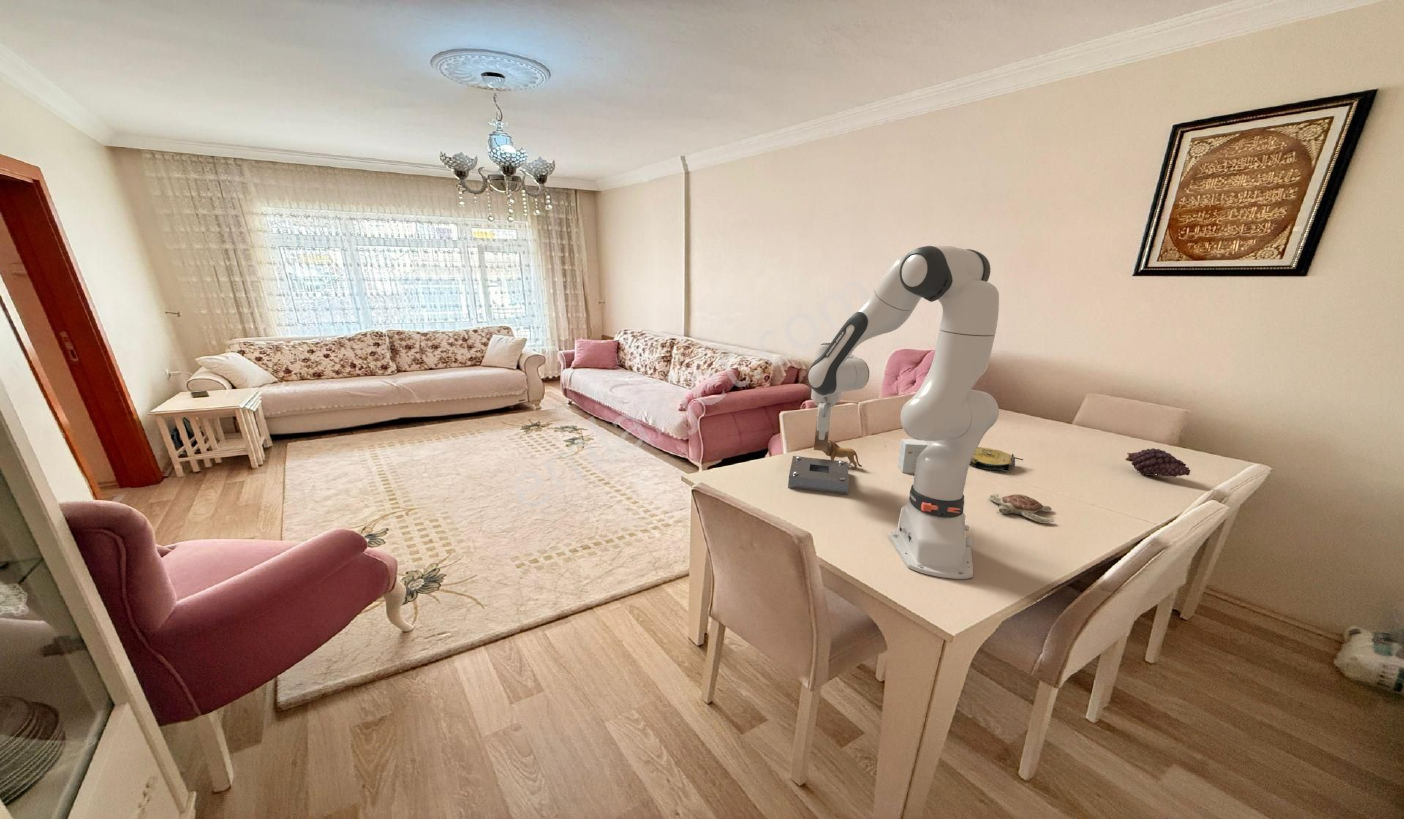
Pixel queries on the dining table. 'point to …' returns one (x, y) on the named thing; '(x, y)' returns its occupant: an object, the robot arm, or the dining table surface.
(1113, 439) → the dining table surface
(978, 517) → the dining table surface
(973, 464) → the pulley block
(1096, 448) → the dining table surface
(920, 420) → the robot arm
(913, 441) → the small box
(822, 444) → the brown wooden block
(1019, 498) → the decorative turtle
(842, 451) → the lion figurine
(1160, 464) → the pine cone
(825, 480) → the slotted grey base block
